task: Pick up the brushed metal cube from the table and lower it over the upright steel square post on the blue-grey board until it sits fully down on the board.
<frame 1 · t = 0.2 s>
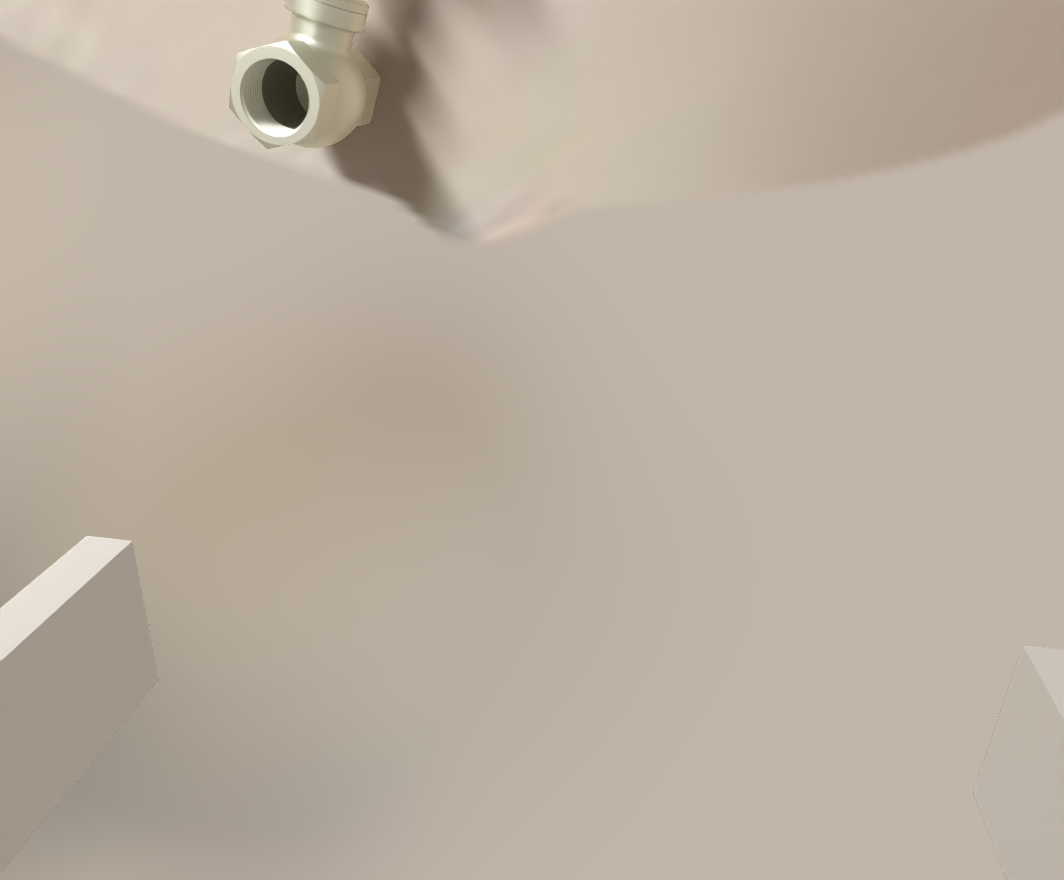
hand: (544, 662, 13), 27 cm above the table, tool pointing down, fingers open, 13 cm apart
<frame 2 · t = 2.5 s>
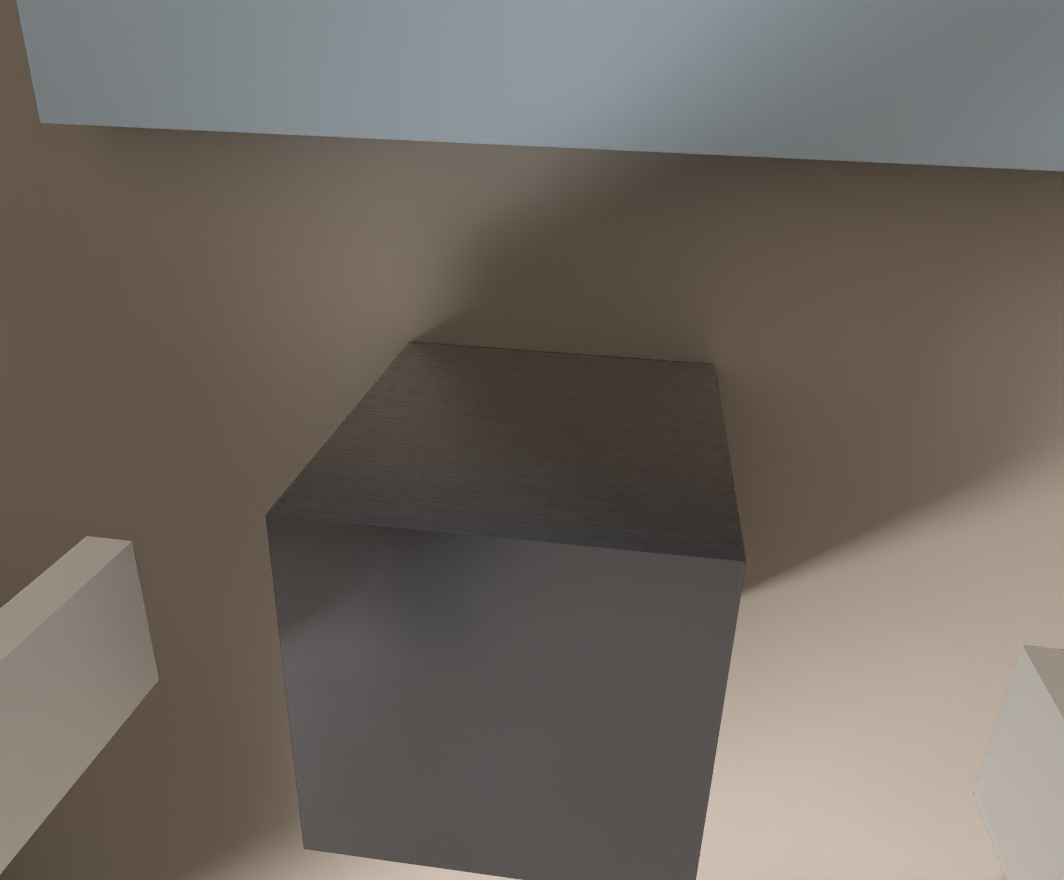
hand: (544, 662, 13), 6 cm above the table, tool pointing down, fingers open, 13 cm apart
brushed metal cube: (553, 488, 18), on the table
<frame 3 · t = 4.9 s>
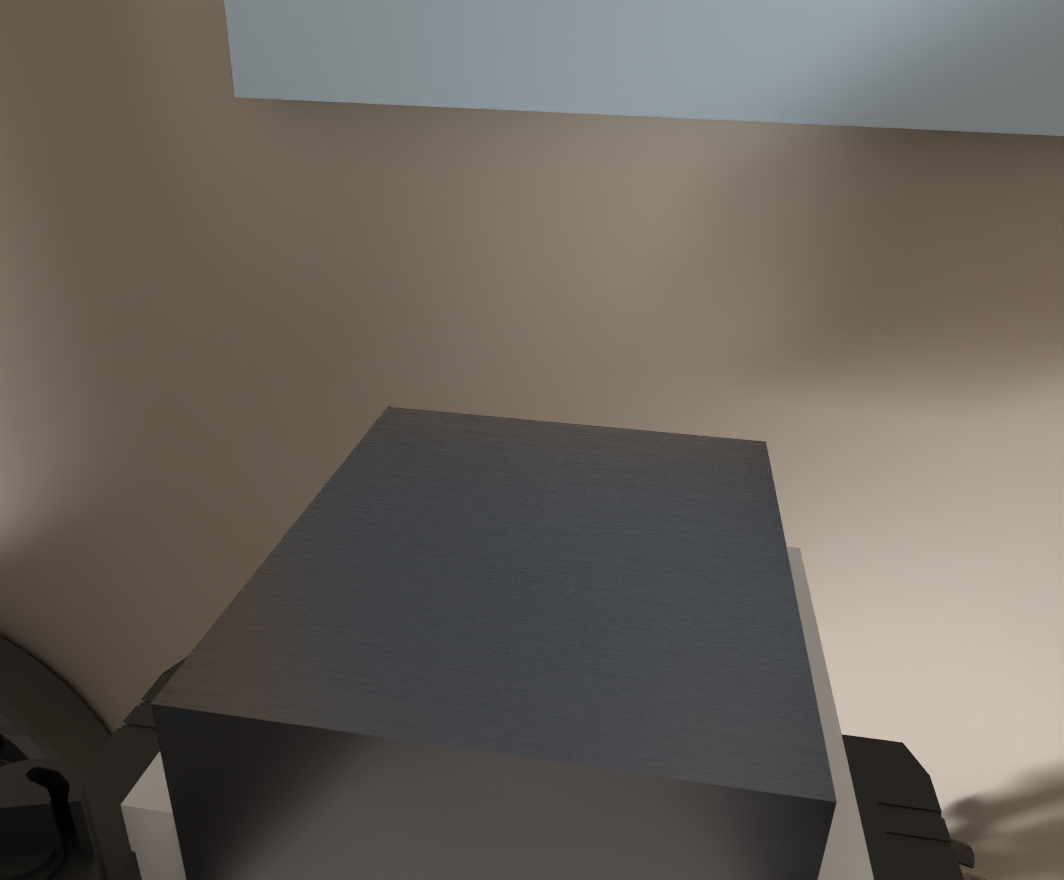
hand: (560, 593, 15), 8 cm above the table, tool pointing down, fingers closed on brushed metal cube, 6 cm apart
brushed metal cube: (562, 582, 15), point 8 cm above the table, touching gripper
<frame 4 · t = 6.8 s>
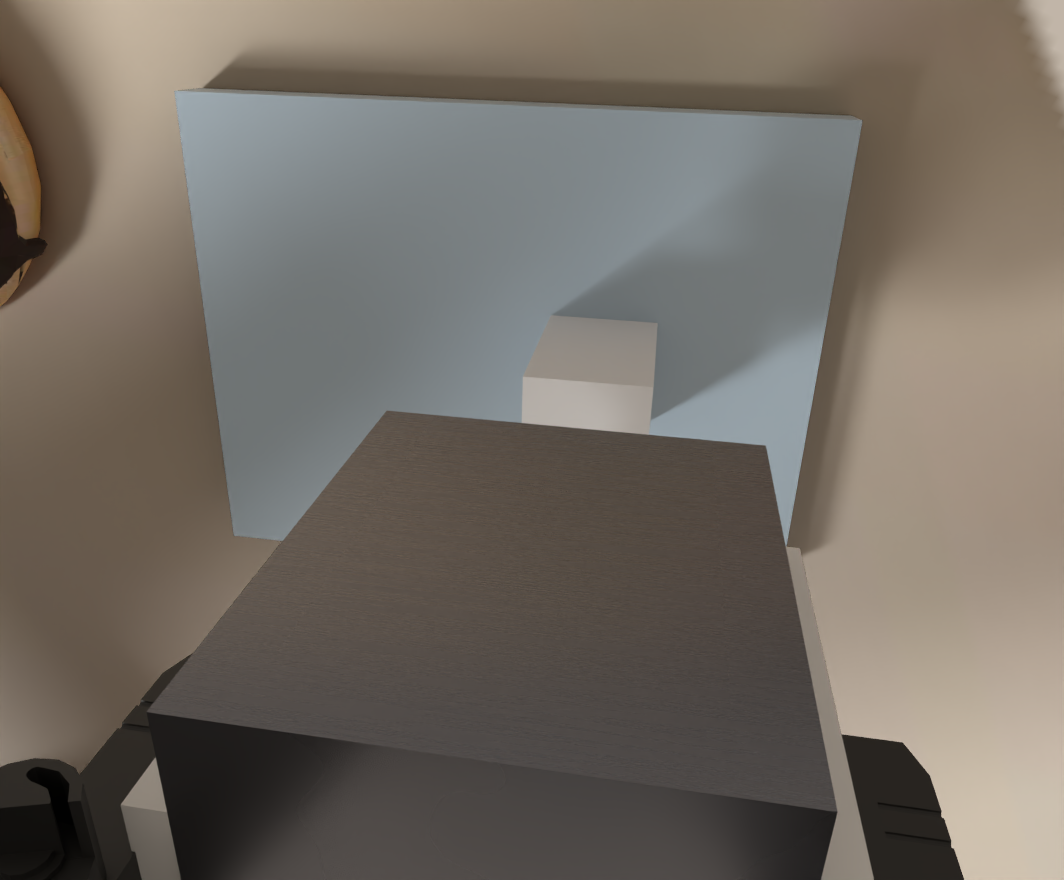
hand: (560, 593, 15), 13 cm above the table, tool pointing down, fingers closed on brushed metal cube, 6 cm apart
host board: (506, 345, 27), on the table
brushed metal cube: (562, 586, 15), point 13 cm above the table, touching gripper
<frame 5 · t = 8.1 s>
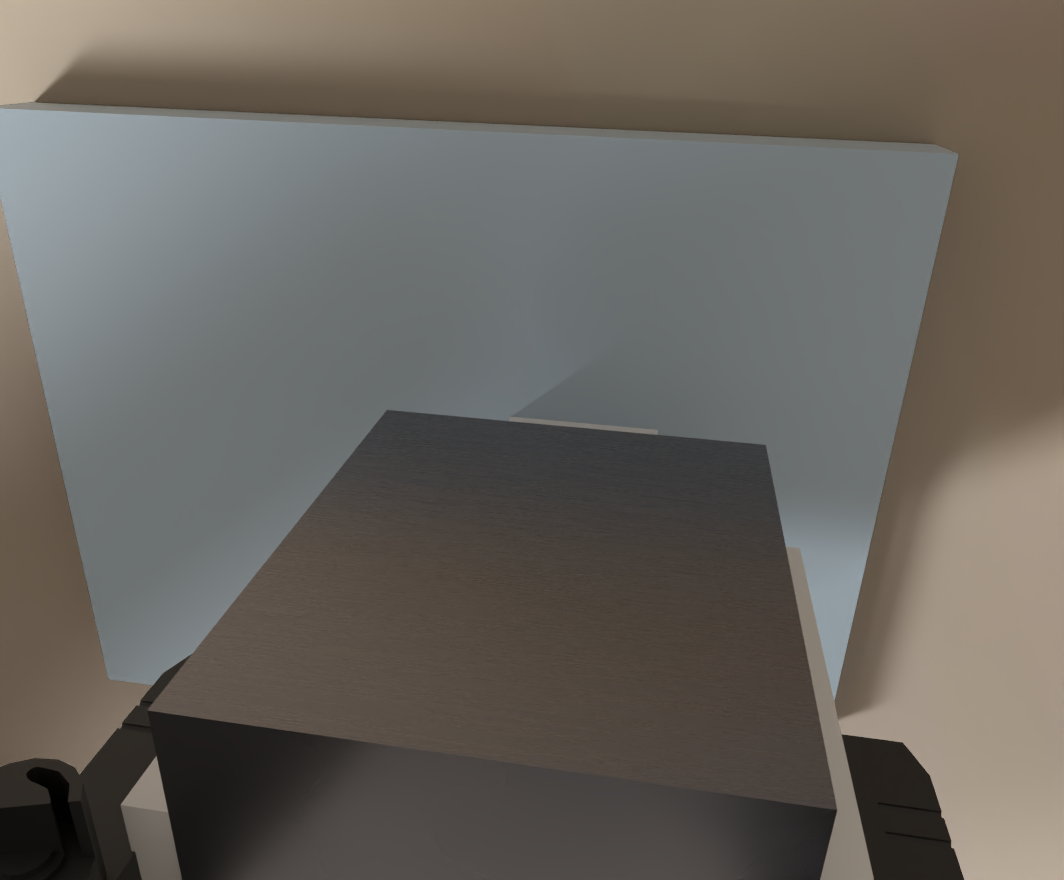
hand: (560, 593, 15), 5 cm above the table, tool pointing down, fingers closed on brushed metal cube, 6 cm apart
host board: (456, 445, 20), on the table
brushed metal cube: (562, 585, 15), point 5 cm above the table, touching gripper
when the fingers open (2 cm above the table, at t = 9.1 s): brushed metal cube stays where it is, resting on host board.
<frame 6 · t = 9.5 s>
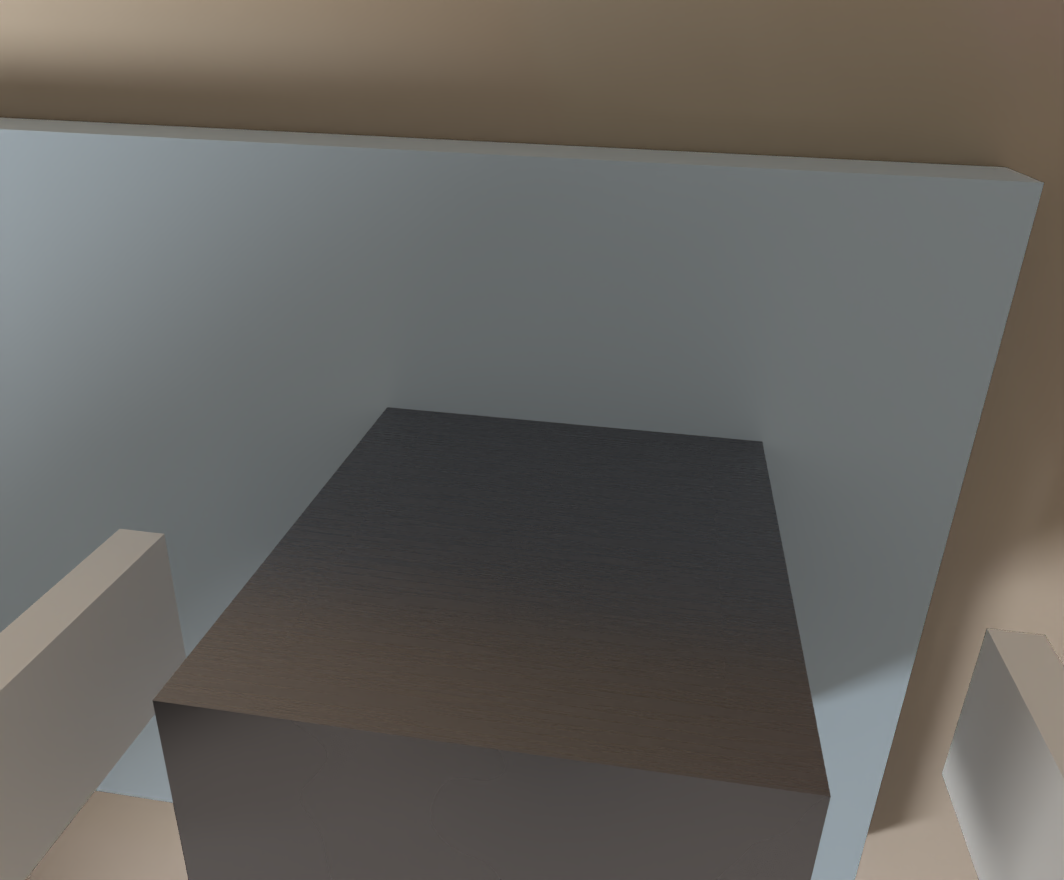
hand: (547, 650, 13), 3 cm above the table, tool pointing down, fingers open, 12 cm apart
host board: (418, 518, 17), on the table
brushed metal cube: (561, 581, 15), point 1 cm above the table, touching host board
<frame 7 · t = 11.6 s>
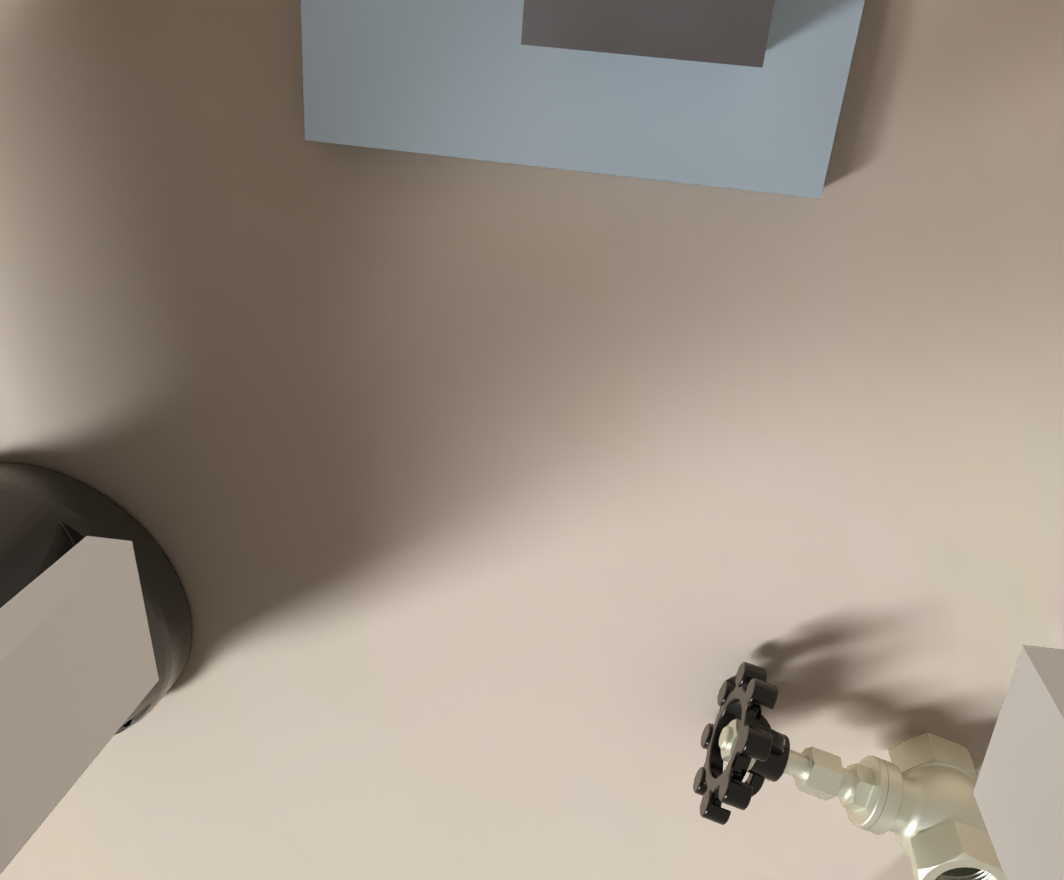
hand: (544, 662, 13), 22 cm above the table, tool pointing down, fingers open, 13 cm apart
valve: (845, 728, 40), on the table
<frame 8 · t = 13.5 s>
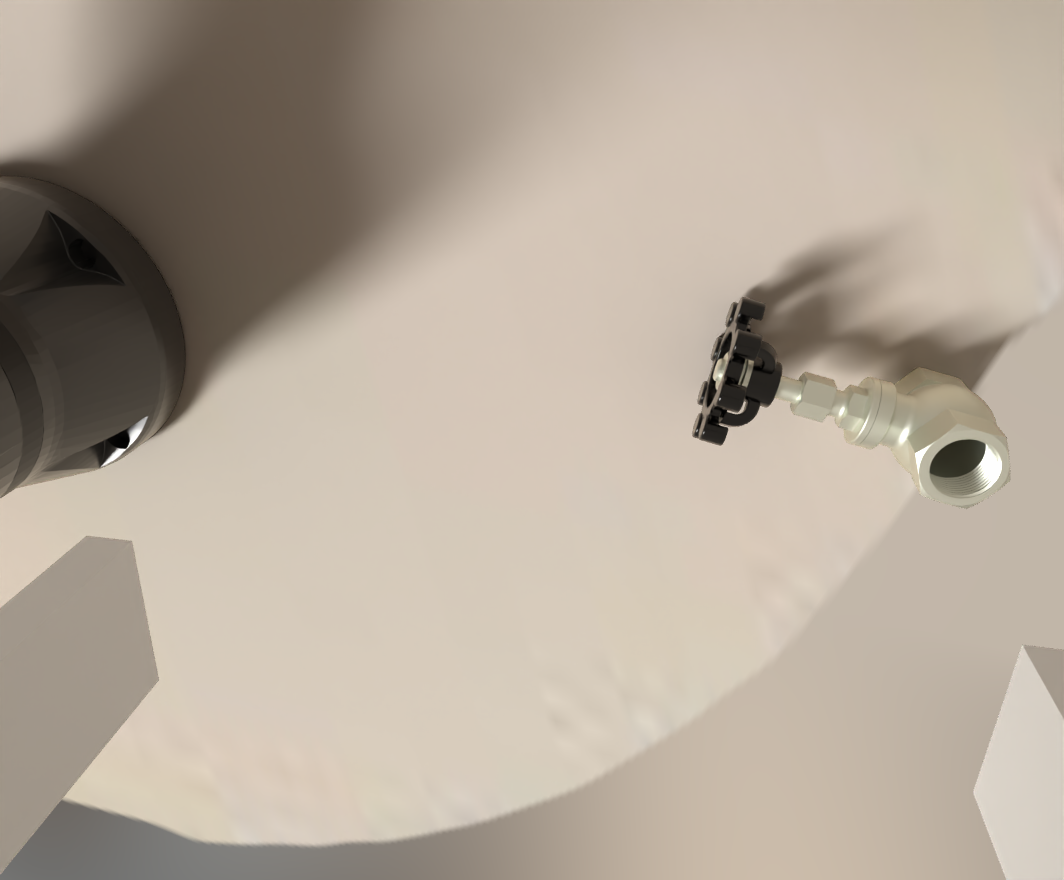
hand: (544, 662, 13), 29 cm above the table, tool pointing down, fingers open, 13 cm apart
valve: (839, 378, 40), on the table
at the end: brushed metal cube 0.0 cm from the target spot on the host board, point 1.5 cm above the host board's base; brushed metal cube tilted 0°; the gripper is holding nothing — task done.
